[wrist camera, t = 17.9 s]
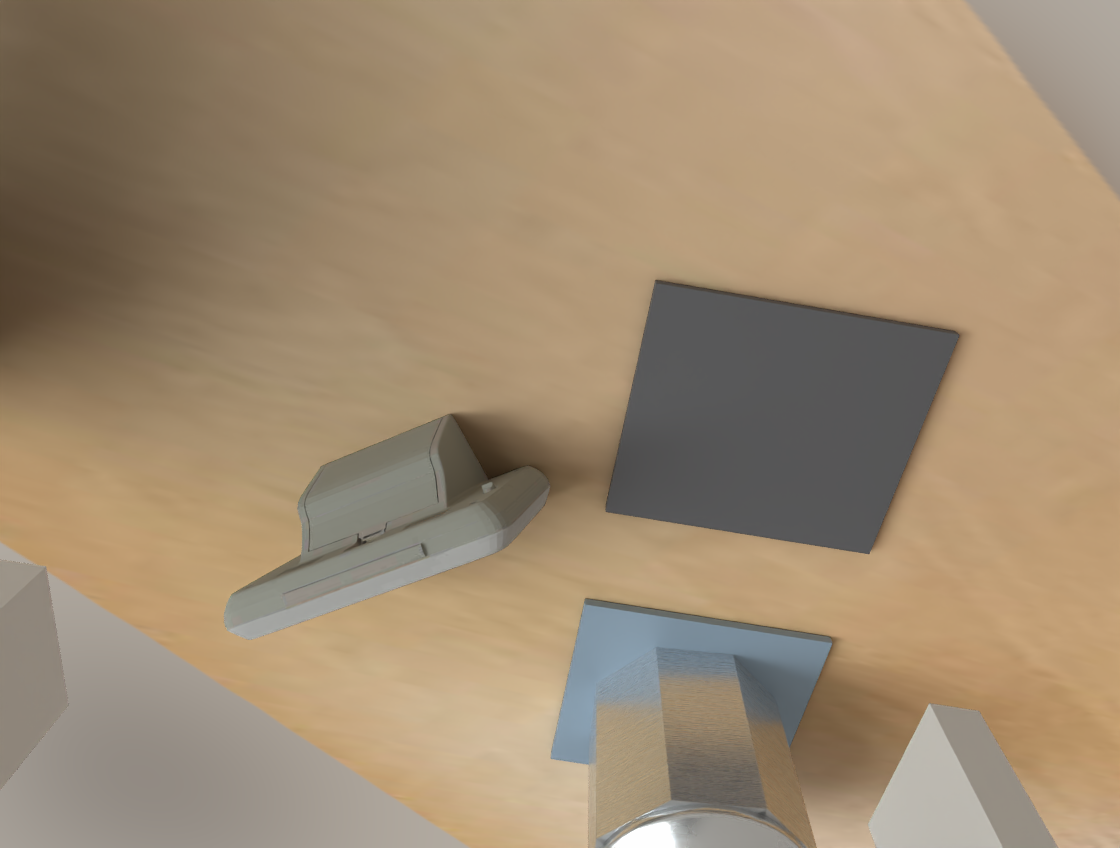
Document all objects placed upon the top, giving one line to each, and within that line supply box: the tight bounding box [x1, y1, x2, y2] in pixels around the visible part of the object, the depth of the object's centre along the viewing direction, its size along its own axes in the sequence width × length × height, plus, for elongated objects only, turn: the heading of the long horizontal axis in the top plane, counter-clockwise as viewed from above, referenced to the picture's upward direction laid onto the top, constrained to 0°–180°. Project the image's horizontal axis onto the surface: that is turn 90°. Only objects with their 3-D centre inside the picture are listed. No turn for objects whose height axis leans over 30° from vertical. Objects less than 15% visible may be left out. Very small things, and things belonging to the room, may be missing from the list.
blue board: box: [551, 599, 832, 765], centre depth 52 cm, size 16×14×1 cm
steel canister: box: [588, 647, 817, 848], centre depth 46 cm, size 12×12×14 cm
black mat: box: [606, 280, 959, 554], centre depth 43 cm, size 16×14×1 cm
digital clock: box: [224, 414, 550, 640], centre depth 41 cm, size 16×9×11 cm, turn 103°
